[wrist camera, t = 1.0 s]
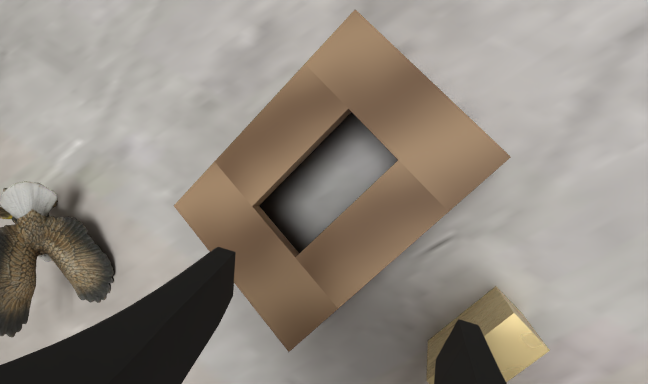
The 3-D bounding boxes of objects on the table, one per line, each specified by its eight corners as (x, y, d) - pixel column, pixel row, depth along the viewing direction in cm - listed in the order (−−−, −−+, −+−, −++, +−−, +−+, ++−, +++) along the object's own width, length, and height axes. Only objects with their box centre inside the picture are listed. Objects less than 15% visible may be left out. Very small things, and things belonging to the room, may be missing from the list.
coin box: (493, 165, 21) (511, 157, 16) (317, 320, 24) (288, 351, 19) (371, 47, 23) (355, 9, 18) (221, 203, 26) (173, 205, 21)
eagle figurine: (-4, 240, 30) (22, 345, 27) (-78, 201, 24) (-55, 332, 21) (96, 200, 33) (131, 292, 30) (53, 155, 26) (91, 267, 23)
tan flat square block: (522, 314, 21) (550, 350, 16) (452, 368, 22) (458, 417, 17) (495, 286, 21) (514, 312, 16) (428, 340, 22) (426, 380, 17)
